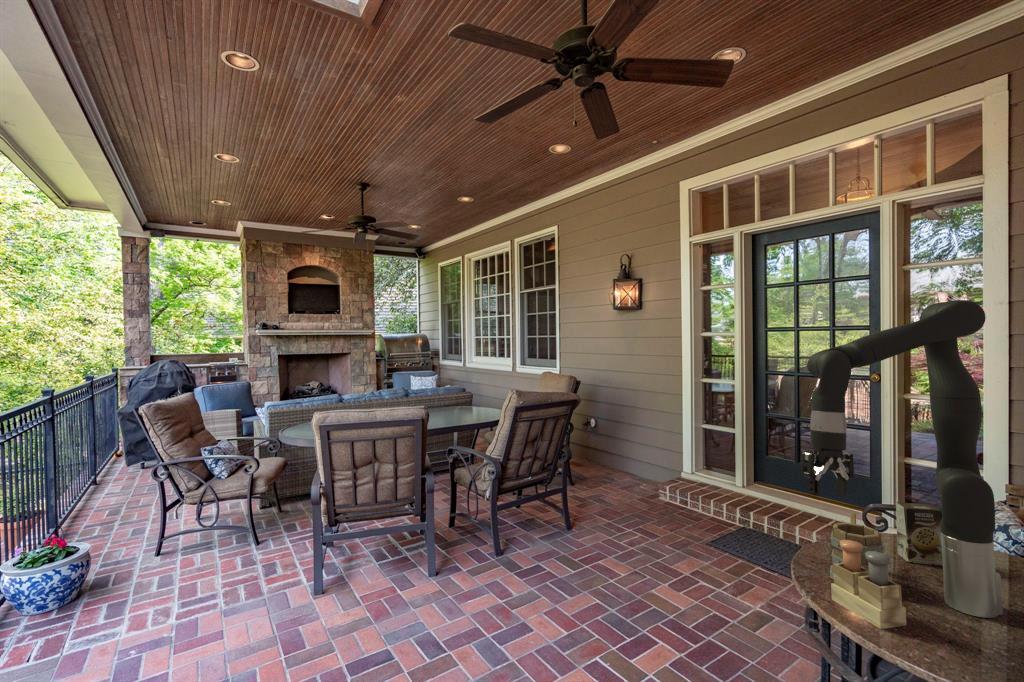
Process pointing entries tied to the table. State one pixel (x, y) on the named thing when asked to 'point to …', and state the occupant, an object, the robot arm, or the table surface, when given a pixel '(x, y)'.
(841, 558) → the tankard
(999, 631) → the table surface
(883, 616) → the frame
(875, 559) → the grey mushroom plug
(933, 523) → the coffee box
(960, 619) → the table surface
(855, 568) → the terracotta plug
